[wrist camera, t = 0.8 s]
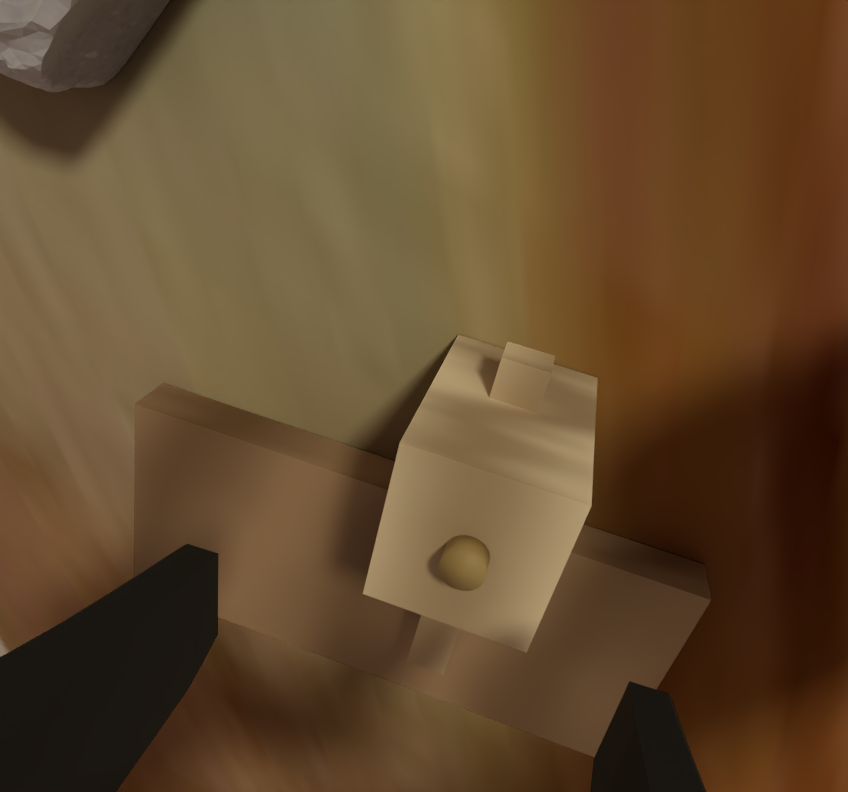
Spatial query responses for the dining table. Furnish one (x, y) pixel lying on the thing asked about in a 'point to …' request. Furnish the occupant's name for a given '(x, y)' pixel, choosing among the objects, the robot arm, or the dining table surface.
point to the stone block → (71, 39)
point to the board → (350, 559)
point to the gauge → (486, 497)
